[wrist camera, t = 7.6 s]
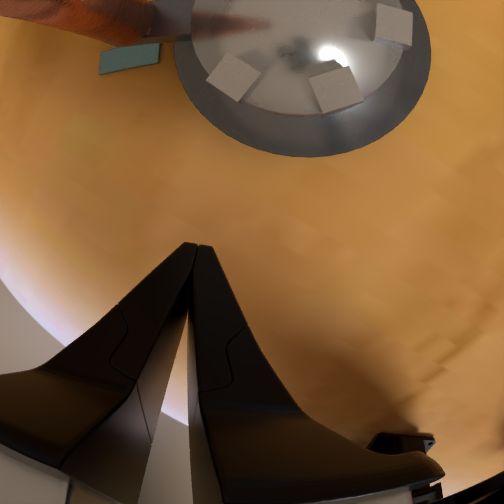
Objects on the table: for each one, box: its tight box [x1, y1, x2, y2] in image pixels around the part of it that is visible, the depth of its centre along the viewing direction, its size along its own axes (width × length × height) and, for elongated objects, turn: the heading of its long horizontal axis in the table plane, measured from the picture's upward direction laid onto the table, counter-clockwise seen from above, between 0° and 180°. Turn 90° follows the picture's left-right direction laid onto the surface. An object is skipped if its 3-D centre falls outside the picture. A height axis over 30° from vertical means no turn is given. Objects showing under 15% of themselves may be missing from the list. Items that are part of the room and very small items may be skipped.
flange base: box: [99, 0, 431, 157], centre depth 14 cm, size 14×21×2 cm, turn 79°
